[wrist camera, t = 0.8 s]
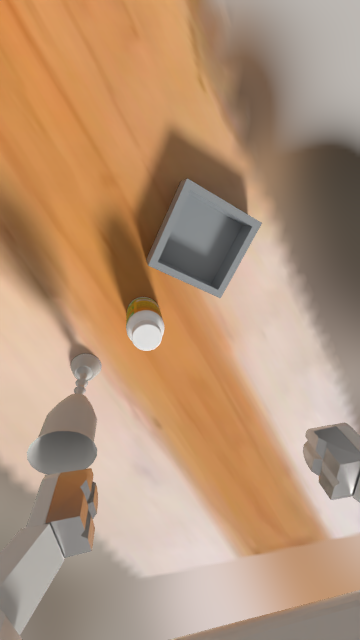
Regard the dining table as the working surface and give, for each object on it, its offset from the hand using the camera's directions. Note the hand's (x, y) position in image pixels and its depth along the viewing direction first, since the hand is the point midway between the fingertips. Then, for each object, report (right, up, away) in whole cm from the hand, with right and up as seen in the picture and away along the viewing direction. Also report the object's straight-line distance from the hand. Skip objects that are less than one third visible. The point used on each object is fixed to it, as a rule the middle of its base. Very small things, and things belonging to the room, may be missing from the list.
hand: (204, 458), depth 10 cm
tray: (+2, +17, +31) cm, 36 cm away
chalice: (-17, -3, +36) cm, 40 cm away
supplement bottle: (-7, +7, +34) cm, 35 cm away
